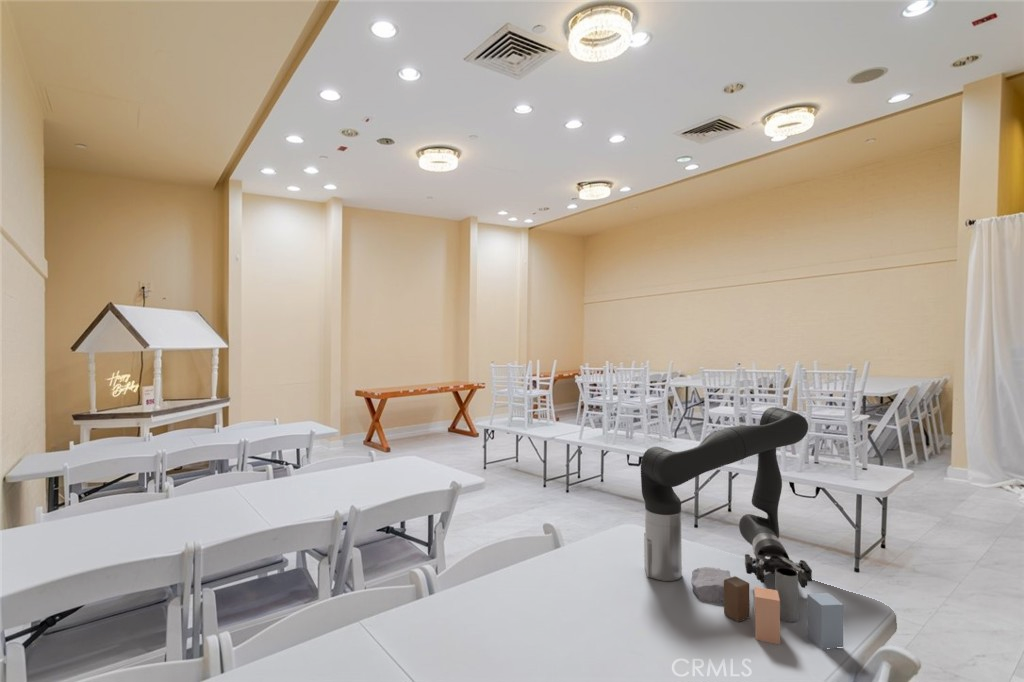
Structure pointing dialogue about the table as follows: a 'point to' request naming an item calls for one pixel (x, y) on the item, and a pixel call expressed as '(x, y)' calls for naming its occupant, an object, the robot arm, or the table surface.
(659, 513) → the robot arm
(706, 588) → the stone block
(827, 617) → the slate-blue block
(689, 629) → the table surface
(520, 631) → the table surface
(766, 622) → the terracotta block
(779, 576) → the planter
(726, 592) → the wooden block
